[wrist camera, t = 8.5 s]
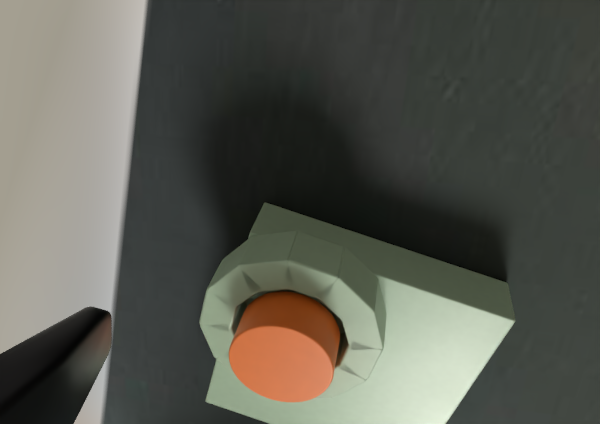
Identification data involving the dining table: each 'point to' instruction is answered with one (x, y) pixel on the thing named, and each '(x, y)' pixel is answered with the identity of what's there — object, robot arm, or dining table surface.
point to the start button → (285, 347)
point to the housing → (359, 322)
